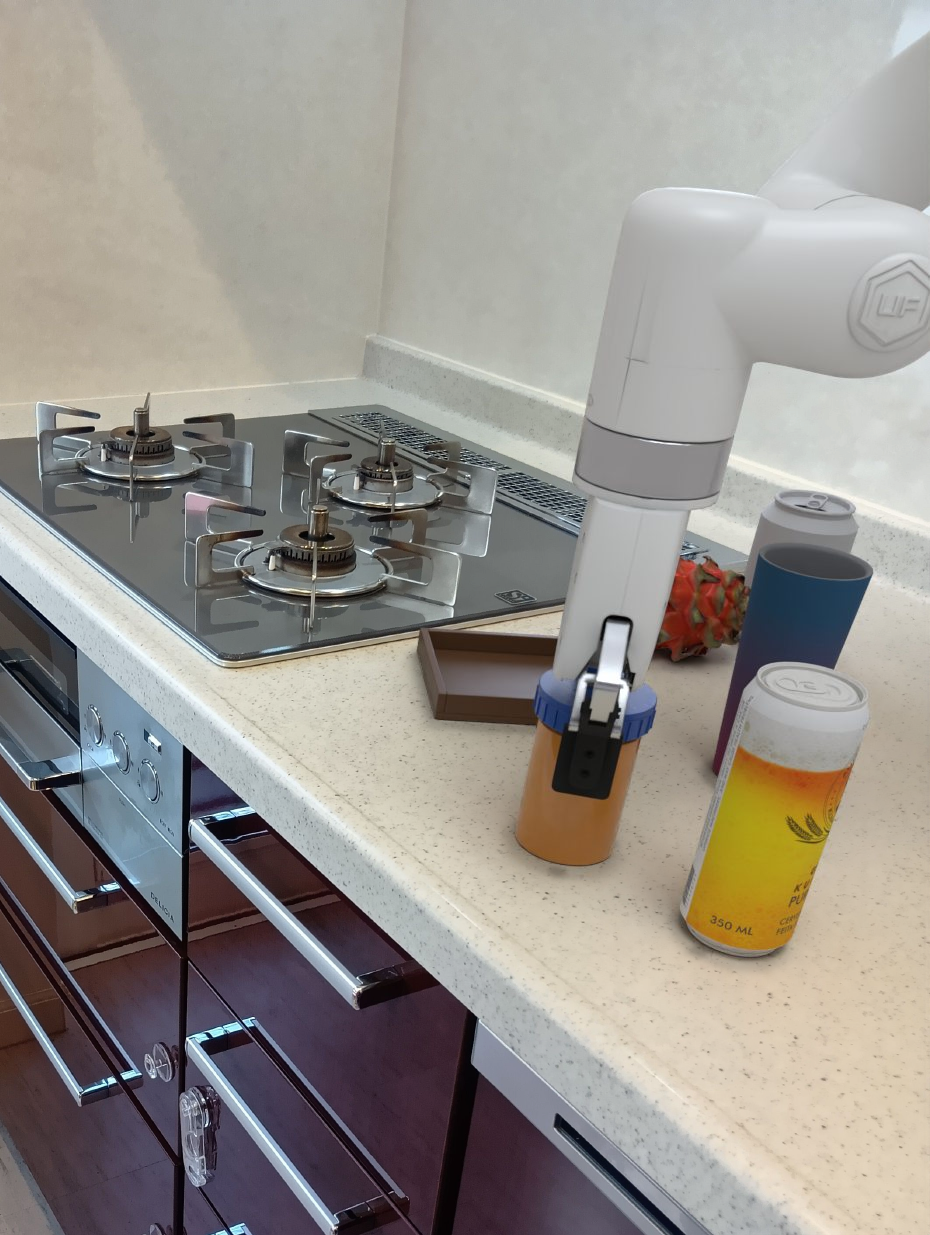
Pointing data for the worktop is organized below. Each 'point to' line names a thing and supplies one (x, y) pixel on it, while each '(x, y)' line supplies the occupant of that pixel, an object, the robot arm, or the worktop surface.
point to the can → (804, 524)
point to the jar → (569, 807)
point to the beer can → (773, 806)
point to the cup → (794, 615)
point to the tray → (484, 673)
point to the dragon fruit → (703, 609)
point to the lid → (559, 698)
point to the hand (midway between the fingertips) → (584, 755)
